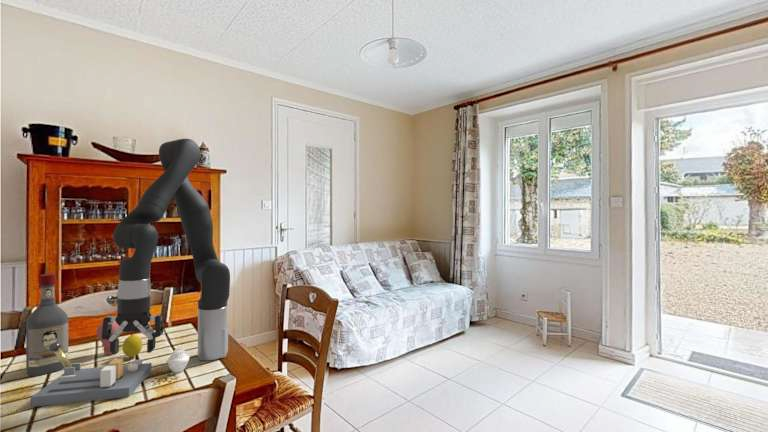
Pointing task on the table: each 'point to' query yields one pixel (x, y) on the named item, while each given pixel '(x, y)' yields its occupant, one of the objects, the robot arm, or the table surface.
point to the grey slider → (107, 376)
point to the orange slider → (117, 367)
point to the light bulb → (106, 342)
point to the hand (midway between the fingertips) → (132, 352)
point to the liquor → (46, 331)
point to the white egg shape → (178, 360)
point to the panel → (90, 385)
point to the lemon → (132, 345)
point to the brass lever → (60, 354)
